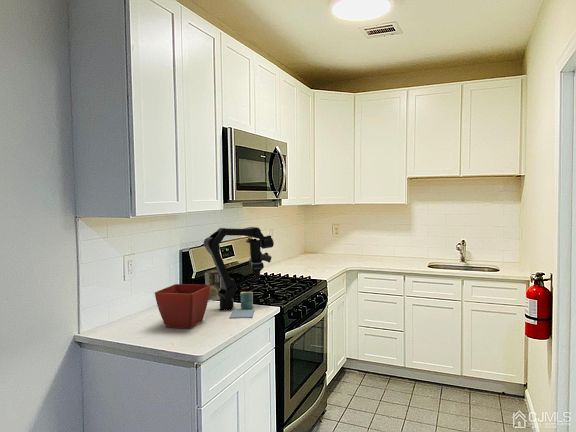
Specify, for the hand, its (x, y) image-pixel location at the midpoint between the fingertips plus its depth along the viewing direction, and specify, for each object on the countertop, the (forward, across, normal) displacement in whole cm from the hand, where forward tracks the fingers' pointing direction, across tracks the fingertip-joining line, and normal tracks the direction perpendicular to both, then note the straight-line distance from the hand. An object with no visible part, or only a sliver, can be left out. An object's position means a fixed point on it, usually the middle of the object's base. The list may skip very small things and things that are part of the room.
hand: (257, 278), depth 230 cm
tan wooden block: (+13, -11, +7) cm, 19 cm away
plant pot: (+12, -28, +38) cm, 49 cm away
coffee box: (+13, +16, +24) cm, 32 cm away
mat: (+13, -20, +10) cm, 26 cm away
